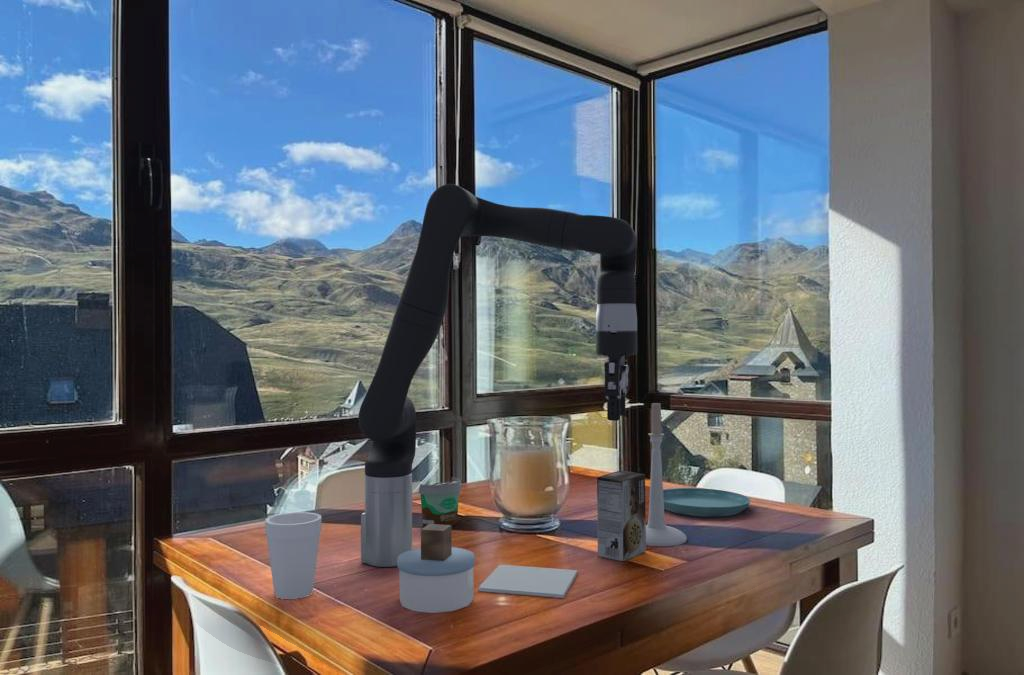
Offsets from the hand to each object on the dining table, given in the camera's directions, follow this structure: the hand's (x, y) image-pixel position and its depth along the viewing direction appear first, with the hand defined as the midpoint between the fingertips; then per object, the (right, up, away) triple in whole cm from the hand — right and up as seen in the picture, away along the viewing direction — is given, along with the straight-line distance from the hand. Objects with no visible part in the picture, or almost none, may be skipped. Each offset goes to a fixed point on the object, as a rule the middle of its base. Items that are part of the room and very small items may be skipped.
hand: (616, 417), depth 141 cm
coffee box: (+3, -30, +16) cm, 34 cm away
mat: (-16, -29, -2) cm, 33 cm away
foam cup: (-57, -30, -8) cm, 65 cm away
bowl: (-32, -29, -11) cm, 45 cm away
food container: (-35, -30, +41) cm, 61 cm away
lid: (-32, -23, -11) cm, 41 cm away
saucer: (+29, -30, +57) cm, 71 cm away
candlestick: (+12, -30, +28) cm, 42 cm away
